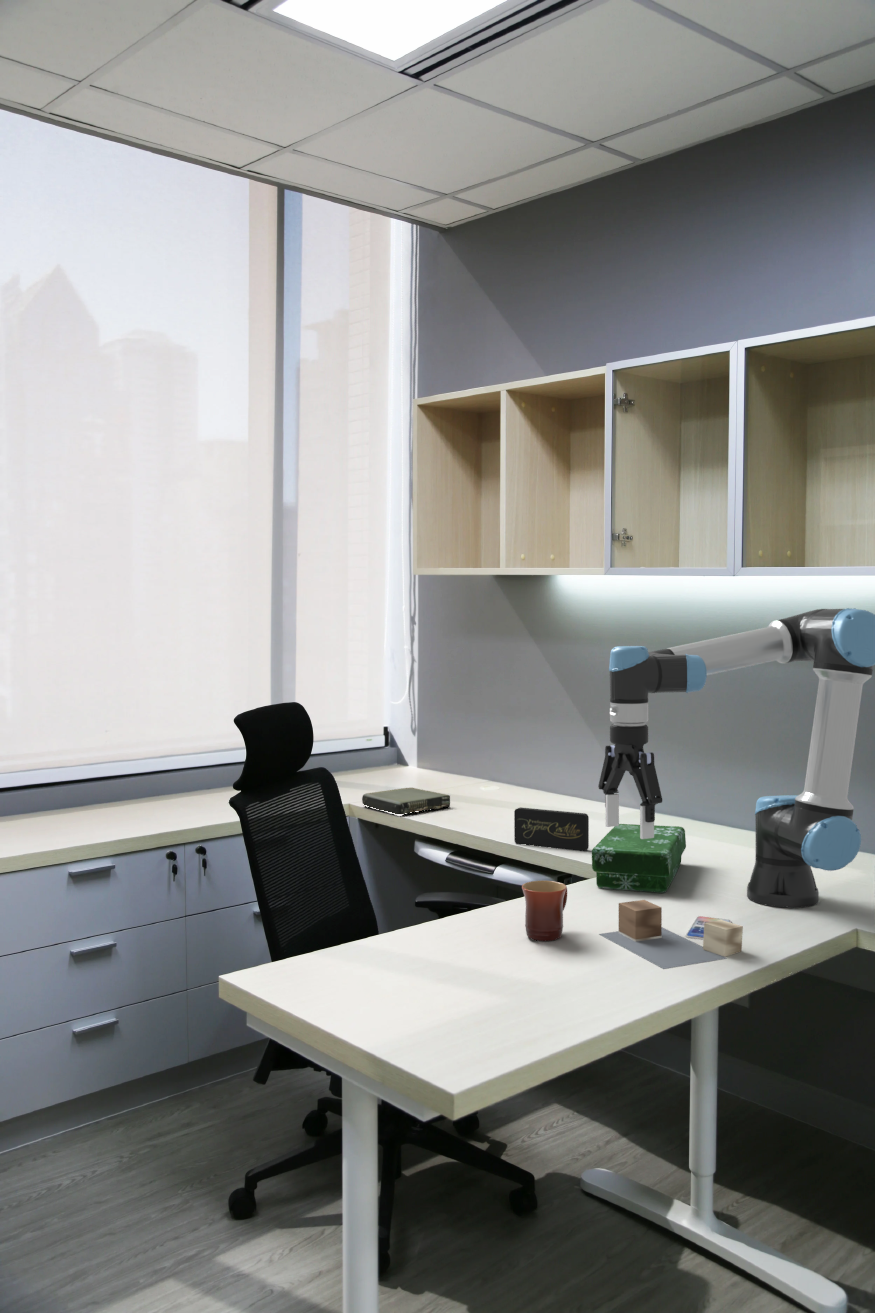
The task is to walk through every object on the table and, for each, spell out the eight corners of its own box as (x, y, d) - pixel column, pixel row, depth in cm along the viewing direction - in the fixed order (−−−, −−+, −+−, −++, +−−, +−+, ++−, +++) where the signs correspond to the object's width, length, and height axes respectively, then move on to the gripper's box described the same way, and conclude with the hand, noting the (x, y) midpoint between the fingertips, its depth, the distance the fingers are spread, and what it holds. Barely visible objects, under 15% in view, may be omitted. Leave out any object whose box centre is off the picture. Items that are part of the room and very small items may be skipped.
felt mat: (658, 927, 213) (657, 925, 213) (727, 960, 193) (727, 958, 193) (598, 935, 208) (598, 934, 208) (663, 970, 188) (663, 969, 188)
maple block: (719, 945, 201) (721, 919, 201) (741, 952, 197) (742, 926, 197) (702, 949, 198) (704, 923, 198) (724, 956, 194) (726, 929, 194)
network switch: (405, 819, 326) (405, 803, 326) (354, 810, 342) (354, 794, 342) (455, 808, 343) (455, 793, 343) (405, 800, 359) (404, 785, 359)
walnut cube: (644, 929, 211) (644, 899, 211) (661, 937, 205) (661, 907, 205) (618, 933, 208) (618, 903, 208) (635, 941, 203) (635, 911, 203)
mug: (550, 947, 201) (550, 894, 200) (513, 939, 206) (513, 887, 206) (583, 932, 210) (583, 881, 210) (547, 924, 216) (546, 875, 215)
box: (670, 897, 236) (670, 853, 236) (590, 890, 243) (590, 847, 242) (687, 864, 266) (687, 825, 265) (615, 859, 272) (615, 821, 272)
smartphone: (732, 919, 216) (722, 941, 202) (732, 924, 216) (721, 946, 203) (696, 915, 219) (683, 936, 205) (696, 919, 219) (683, 940, 205)
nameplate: (514, 844, 290) (514, 808, 289) (517, 842, 291) (517, 807, 291) (586, 852, 280) (586, 815, 279) (588, 850, 281) (588, 813, 281)
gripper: (581, 719, 218) (581, 822, 219) (648, 731, 196) (648, 846, 197) (612, 717, 221) (612, 819, 222) (681, 728, 199) (681, 842, 200)
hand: (629, 832), depth 209 cm, fingers open, 12 cm apart
